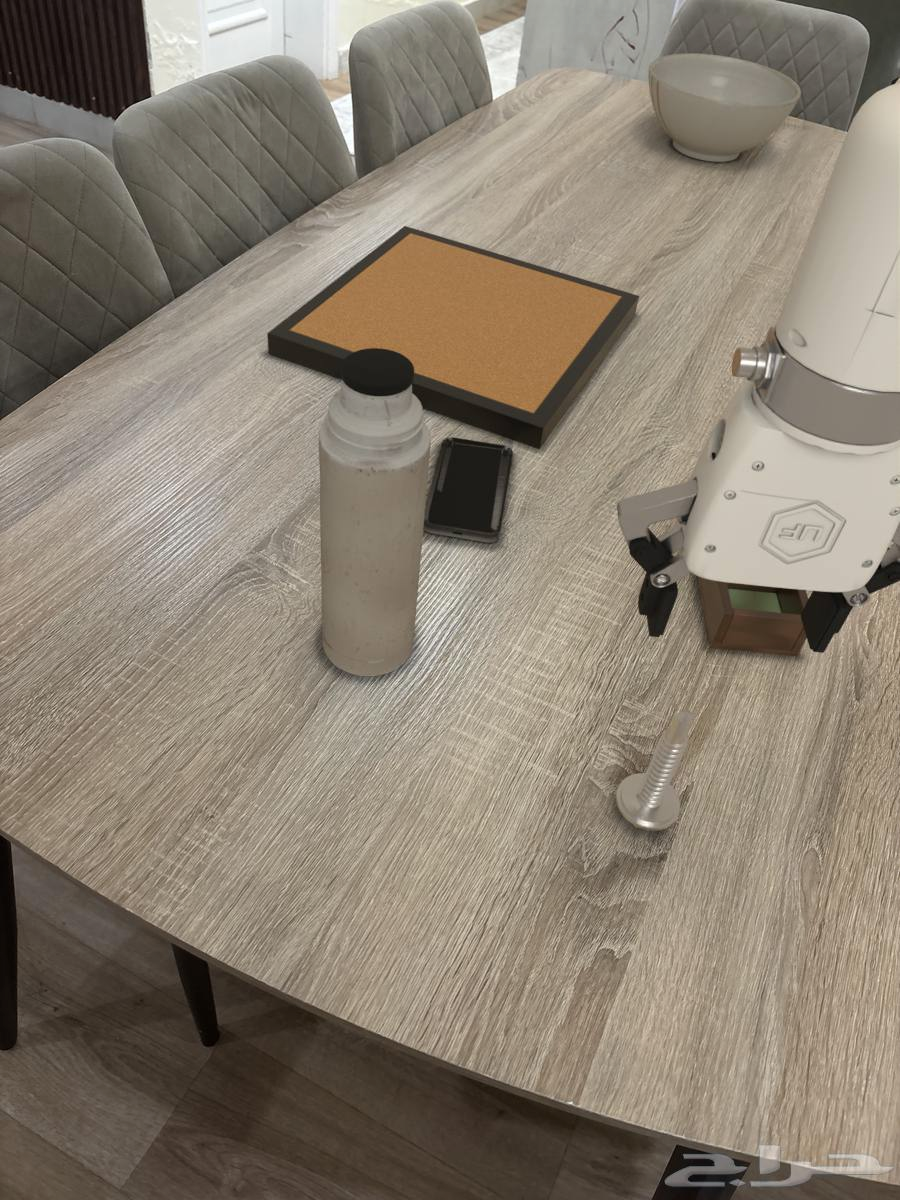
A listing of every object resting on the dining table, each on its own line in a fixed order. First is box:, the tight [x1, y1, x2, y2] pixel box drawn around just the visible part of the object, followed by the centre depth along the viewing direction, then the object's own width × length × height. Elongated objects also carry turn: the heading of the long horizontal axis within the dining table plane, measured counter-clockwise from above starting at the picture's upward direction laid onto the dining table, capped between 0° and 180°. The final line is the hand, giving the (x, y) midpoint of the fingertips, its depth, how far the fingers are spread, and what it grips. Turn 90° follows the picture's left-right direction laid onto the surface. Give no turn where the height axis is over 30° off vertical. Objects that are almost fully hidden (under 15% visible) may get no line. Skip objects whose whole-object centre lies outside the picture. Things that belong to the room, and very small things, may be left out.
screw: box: [615, 709, 695, 831], centre depth 68 cm, size 13×5×5 cm
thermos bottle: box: [318, 348, 432, 677], centre depth 73 cm, size 8×8×28 cm
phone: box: [423, 436, 514, 544], centre depth 98 cm, size 8×1×15 cm
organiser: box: [696, 576, 809, 657], centre depth 90 cm, size 8×15×5 cm, turn 177°
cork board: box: [266, 225, 640, 450], centre depth 120 cm, size 36×3×35 cm
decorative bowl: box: [647, 52, 802, 163], centre depth 170 cm, size 27×27×12 cm
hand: (731, 627), depth 56 cm, fingers open, 9 cm apart
